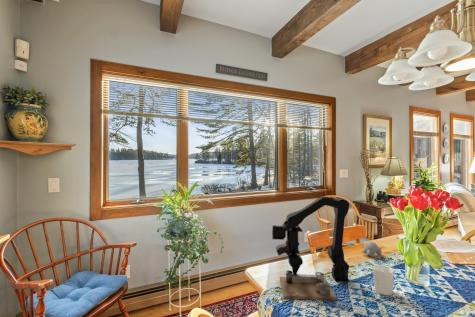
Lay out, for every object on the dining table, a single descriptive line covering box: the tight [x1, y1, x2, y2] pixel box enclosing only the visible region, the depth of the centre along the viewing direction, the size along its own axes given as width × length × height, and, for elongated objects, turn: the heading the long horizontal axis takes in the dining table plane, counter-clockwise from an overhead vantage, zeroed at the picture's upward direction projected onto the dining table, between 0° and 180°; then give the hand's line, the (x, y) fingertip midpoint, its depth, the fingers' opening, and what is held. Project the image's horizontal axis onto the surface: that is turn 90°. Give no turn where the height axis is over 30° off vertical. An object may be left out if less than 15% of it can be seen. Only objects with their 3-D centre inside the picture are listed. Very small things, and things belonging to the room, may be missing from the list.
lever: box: [285, 270, 325, 283], centre depth 108 cm, size 17×4×4 cm, turn 86°
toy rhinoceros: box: [361, 241, 383, 258], centre depth 140 cm, size 7×12×8 cm, turn 100°
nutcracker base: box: [279, 276, 338, 301], centre depth 105 cm, size 22×16×5 cm
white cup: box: [372, 264, 395, 296], centre depth 103 cm, size 8×8×10 cm
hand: (292, 270), depth 116 cm, fingers open, 9 cm apart
